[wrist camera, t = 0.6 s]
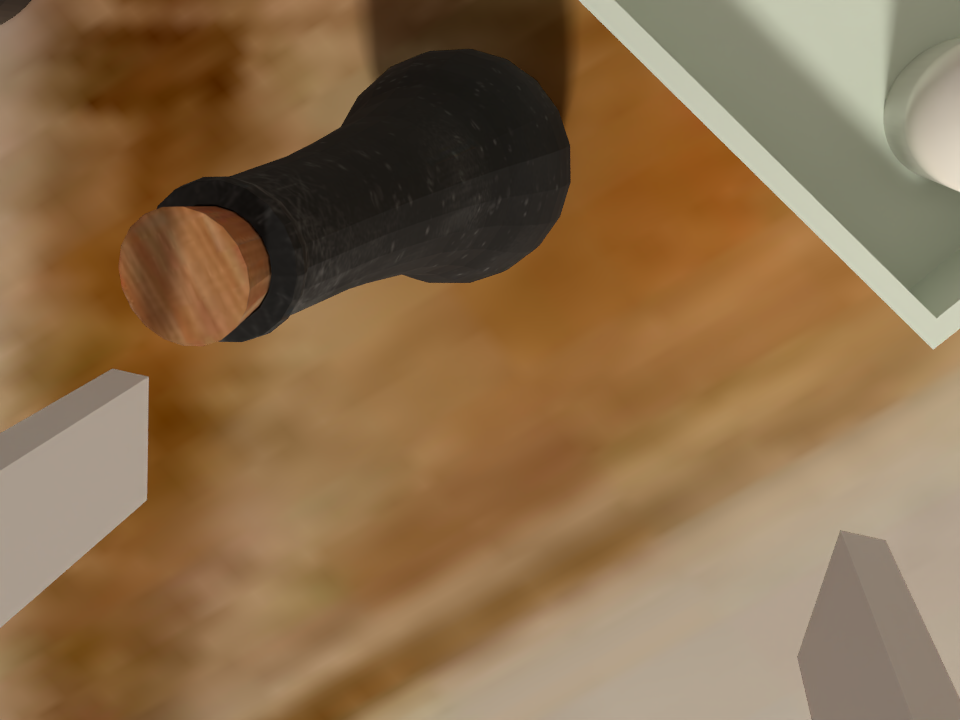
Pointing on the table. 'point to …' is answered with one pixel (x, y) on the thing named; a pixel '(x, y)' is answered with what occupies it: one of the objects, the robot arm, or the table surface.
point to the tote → (818, 124)
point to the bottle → (360, 204)
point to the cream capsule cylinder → (927, 114)
